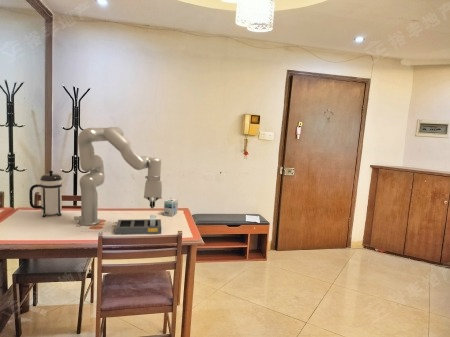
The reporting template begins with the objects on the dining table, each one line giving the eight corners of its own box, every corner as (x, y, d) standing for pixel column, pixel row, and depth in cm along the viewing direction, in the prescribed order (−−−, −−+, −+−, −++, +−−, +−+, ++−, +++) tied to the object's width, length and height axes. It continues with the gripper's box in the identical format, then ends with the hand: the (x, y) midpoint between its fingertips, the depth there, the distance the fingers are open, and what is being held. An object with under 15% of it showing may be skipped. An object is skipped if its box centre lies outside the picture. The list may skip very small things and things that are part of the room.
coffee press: (51, 210, 229) (50, 167, 225) (69, 213, 224) (68, 170, 220) (29, 216, 213) (27, 170, 209) (47, 220, 208) (46, 173, 204)
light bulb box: (172, 216, 231) (173, 201, 229) (163, 215, 232) (164, 200, 231) (177, 213, 241) (178, 198, 240) (169, 212, 243) (169, 197, 241)
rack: (115, 234, 189) (115, 228, 189) (118, 225, 205) (118, 219, 204) (161, 234, 195) (161, 227, 194) (160, 225, 211) (160, 219, 210)
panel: (150, 230, 196) (150, 219, 195) (149, 225, 206) (150, 214, 205) (155, 230, 197) (155, 219, 196) (154, 225, 207) (155, 214, 206)
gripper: (140, 179, 192) (139, 209, 195) (166, 180, 196) (164, 209, 198) (141, 176, 199) (139, 205, 202) (166, 177, 203) (164, 206, 205)
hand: (152, 207), depth 200 cm, fingers closed
